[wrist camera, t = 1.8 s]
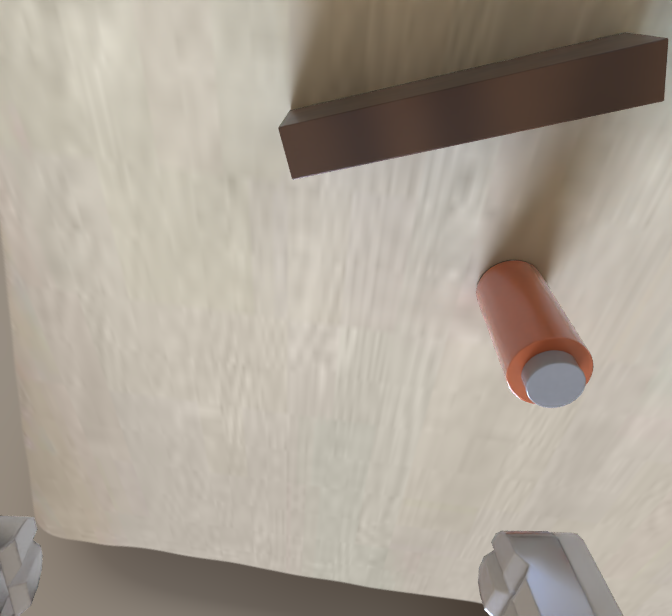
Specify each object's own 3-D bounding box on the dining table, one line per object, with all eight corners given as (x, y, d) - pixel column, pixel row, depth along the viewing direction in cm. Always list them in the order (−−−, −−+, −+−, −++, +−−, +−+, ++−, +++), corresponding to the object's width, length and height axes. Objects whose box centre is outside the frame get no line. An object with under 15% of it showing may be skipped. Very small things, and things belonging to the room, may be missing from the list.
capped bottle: (542, 254, 38) (602, 343, 28) (544, 312, 40) (601, 412, 30) (472, 266, 38) (508, 357, 29) (479, 322, 41) (514, 424, 31)
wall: (626, 31, 31) (668, 37, 26) (624, 87, 32) (664, 101, 28) (289, 110, 34) (277, 127, 29) (301, 157, 35) (292, 180, 31)
